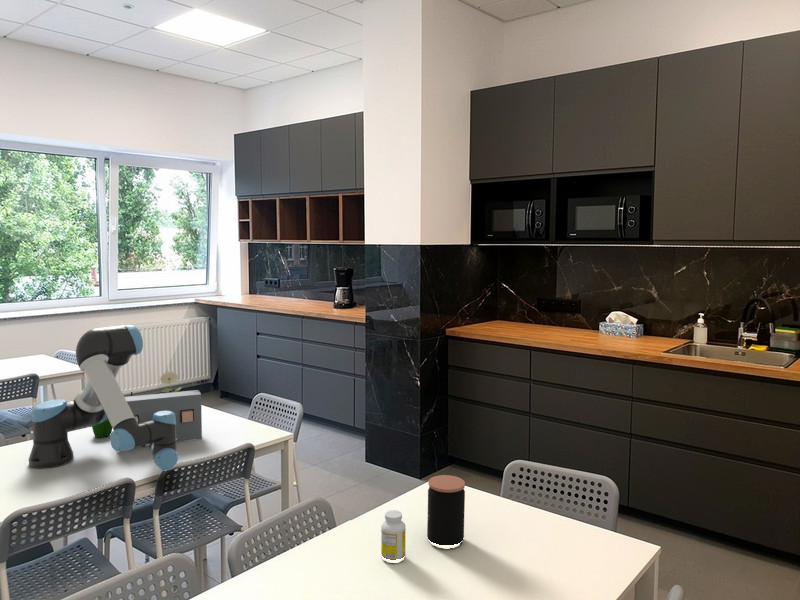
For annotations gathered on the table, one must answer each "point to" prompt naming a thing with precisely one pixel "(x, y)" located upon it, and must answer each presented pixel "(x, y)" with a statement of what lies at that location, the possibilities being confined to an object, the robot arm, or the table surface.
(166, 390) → the flower in vase
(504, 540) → the table surface
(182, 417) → the terracotta key
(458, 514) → the coffee jar
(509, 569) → the table surface
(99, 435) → the bell pepper
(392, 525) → the supplement bottle
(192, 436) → the keypad panel
